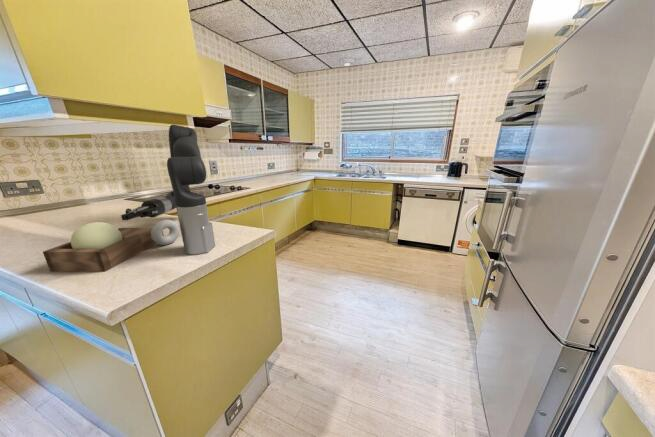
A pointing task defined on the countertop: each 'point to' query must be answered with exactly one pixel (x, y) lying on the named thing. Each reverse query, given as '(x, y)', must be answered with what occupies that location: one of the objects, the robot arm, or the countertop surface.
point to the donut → (159, 227)
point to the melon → (95, 236)
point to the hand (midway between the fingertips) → (123, 217)
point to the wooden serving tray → (100, 252)
